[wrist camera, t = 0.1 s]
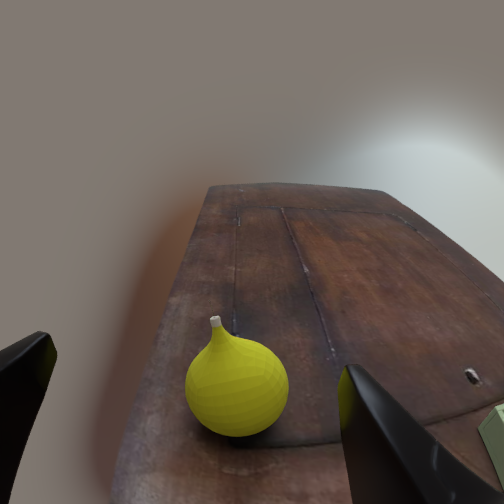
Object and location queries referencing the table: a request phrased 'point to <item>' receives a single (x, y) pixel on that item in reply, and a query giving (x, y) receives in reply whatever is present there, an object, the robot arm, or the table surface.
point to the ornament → (235, 385)
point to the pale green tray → (495, 439)
